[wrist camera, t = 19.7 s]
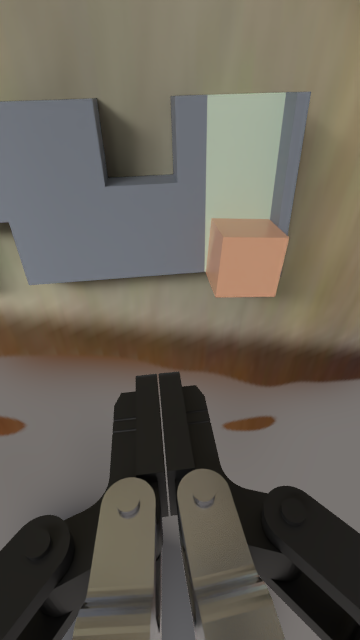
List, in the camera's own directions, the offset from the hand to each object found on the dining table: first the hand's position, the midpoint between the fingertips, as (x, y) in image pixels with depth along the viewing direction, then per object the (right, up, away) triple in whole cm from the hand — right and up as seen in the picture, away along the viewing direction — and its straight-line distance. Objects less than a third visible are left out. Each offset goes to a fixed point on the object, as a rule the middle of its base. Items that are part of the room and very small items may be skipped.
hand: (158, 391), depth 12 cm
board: (-8, +12, +14) cm, 20 cm away
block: (+5, +8, +15) cm, 18 cm away
